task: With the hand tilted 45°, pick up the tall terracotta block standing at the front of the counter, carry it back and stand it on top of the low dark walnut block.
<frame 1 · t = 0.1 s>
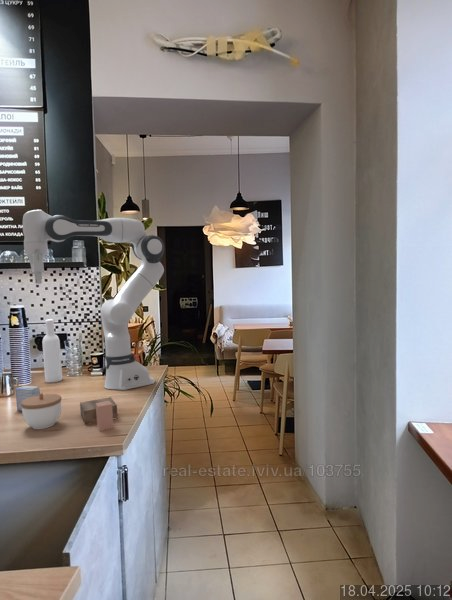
hand: (38, 283, 175), 48 cm above the counter, tool pointing down, fingers open, 8 cm apart
lidded bowl: (43, 426, 144), on the counter
walnut block: (99, 417, 151), on the counter
medicine box: (29, 410, 162), on the counter
terracotta block: (105, 427, 140), on the counter
bottle: (53, 380, 206), on the counter
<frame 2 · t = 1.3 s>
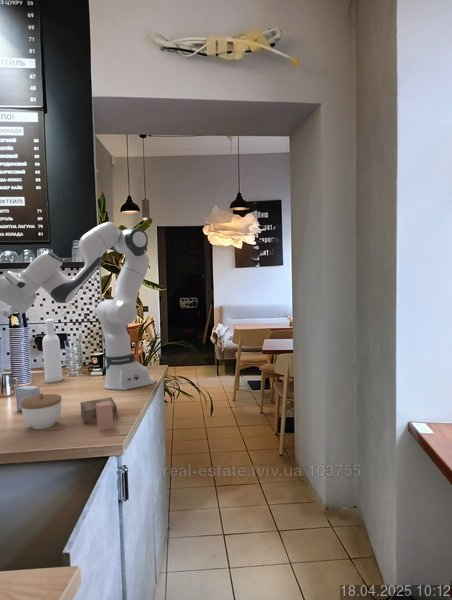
nothing on the counter moved.
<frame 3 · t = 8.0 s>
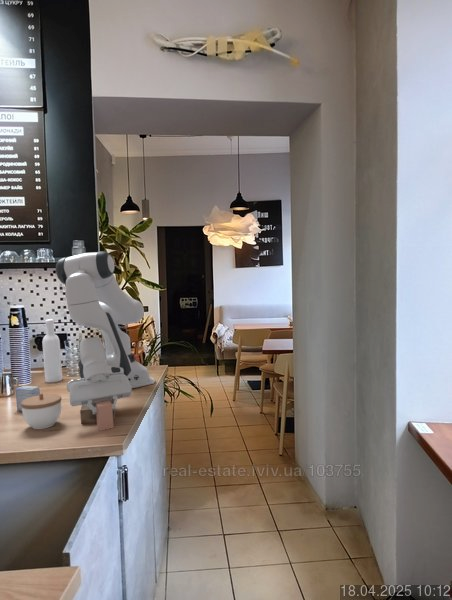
hand: (104, 411, 139), 5 cm above the counter, tool tilted 45°, fingers closed on terracotta block, 4 cm apart
terracotta block: (105, 427, 140), on the counter, touching gripper
when the fingers open (12 cm above the counter, at t = 13.4 s): terracotta block drops 2 cm, resting on walnut block.
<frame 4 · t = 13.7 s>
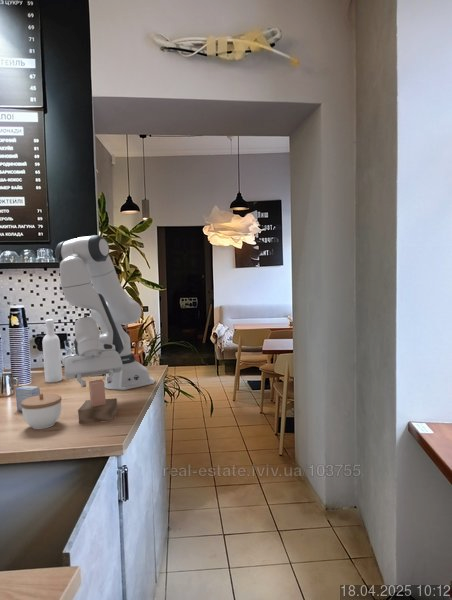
hand: (97, 384, 149), 12 cm above the counter, tool tilted 45°, fingers open, 8 cm apart
walnut block: (99, 417, 151), on the counter, touching terracotta block
terracotta block: (98, 403, 150), point 5 cm above the counter, touching walnut block
everything else where it was.
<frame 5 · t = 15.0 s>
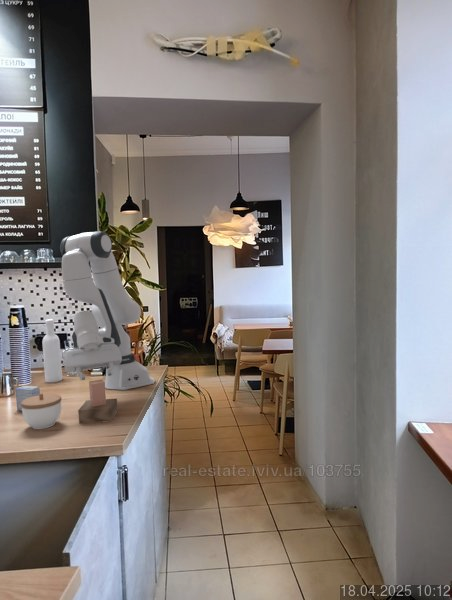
hand: (96, 377, 151), 14 cm above the counter, tool tilted 45°, fingers open, 8 cm apart
nothing on the counter moved.
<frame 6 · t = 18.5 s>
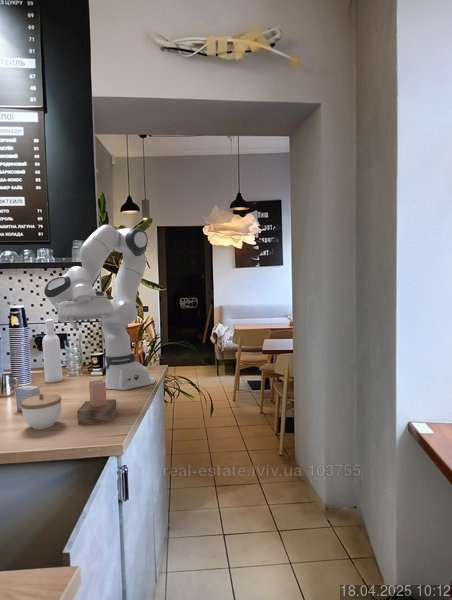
hand: (88, 326, 157), 31 cm above the counter, tool tilted 45°, fingers open, 8 cm apart
walnut block: (98, 418, 150), on the counter
terracotta block: (98, 404, 150), point 5 cm above the counter
everything else where it was.
at the end: terracotta block 0.6 cm off-centre on the walnut block, point 5.1 cm above the walnut block's base; terracotta block tilted 2°; the gripper is holding nothing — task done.
